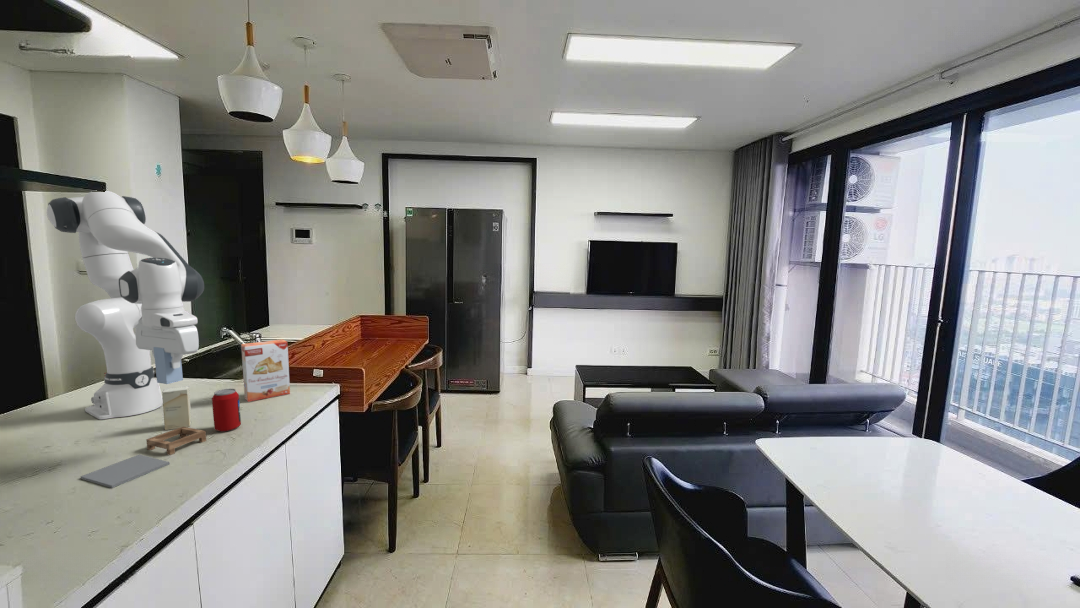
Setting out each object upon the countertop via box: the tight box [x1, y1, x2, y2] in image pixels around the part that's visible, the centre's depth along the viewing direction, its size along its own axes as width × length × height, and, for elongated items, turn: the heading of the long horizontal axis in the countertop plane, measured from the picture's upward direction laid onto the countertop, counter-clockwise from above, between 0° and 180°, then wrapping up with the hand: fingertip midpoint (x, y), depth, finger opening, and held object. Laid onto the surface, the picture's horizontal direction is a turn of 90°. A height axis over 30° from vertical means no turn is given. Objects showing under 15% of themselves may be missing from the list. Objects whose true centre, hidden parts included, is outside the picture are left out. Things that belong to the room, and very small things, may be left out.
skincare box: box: [161, 385, 192, 431], centre depth 136 cm, size 6×4×12 cm
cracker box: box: [240, 339, 291, 403], centre depth 163 cm, size 14×6×21 cm, turn 134°
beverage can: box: [211, 388, 242, 433], centre depth 134 cm, size 7×7×12 cm
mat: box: [80, 454, 170, 489], centre depth 109 cm, size 12×12×1 cm
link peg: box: [153, 347, 184, 385], centre depth 120 cm, size 4×4×10 cm
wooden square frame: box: [145, 426, 207, 456], centre depth 123 cm, size 9×9×3 cm
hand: (168, 367), depth 120 cm, fingers closed on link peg, 4 cm apart
